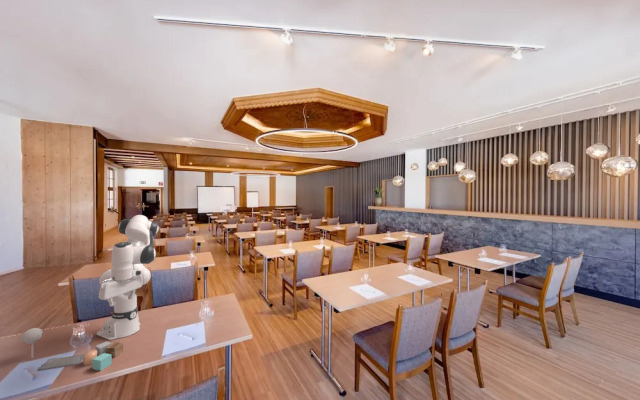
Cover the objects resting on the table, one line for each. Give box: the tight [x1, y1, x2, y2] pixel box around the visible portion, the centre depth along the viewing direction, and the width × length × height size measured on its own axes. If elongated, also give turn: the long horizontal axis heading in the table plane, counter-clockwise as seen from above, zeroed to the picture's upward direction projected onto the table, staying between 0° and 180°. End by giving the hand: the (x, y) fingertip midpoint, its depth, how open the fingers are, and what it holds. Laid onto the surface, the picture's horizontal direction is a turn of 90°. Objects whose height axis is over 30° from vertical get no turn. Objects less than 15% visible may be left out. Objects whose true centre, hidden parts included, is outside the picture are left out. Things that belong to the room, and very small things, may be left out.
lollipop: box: [21, 327, 44, 359], centre depth 128 cm, size 7×7×15 cm
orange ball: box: [82, 349, 98, 367], centre depth 125 cm, size 5×5×5 cm
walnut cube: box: [106, 341, 124, 358], centre depth 132 cm, size 5×5×5 cm
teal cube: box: [92, 353, 113, 372], centre depth 122 cm, size 5×5×5 cm
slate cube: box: [95, 340, 112, 357], centre depth 132 cm, size 5×5×5 cm
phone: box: [37, 353, 84, 372], centre depth 125 cm, size 8×16×1 cm, turn 108°
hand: (121, 302), depth 126 cm, fingers open, 8 cm apart
